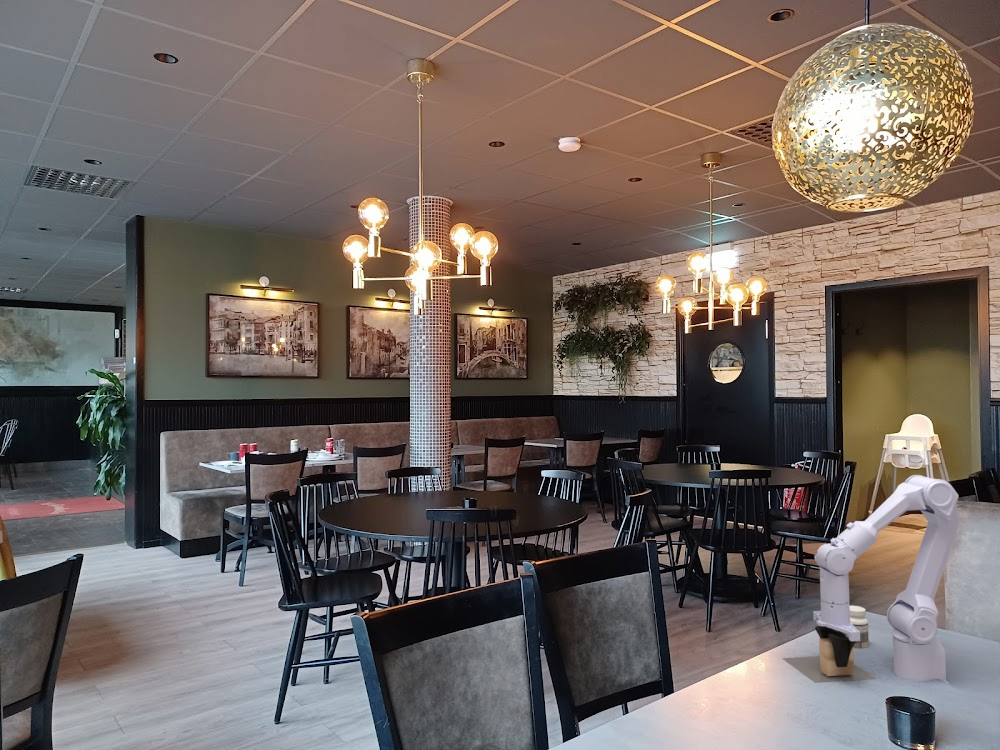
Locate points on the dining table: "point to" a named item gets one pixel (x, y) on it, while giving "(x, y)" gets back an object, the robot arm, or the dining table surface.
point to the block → (833, 660)
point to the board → (812, 671)
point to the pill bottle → (860, 625)
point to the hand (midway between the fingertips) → (836, 663)
